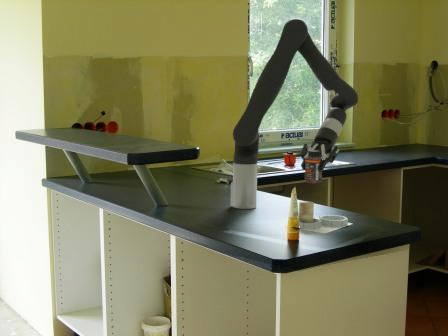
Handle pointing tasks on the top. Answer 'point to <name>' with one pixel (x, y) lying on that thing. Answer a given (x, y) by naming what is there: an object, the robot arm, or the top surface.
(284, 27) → the robot arm
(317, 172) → the supplement bottle
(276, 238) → the top surface
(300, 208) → the dowel
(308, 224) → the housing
